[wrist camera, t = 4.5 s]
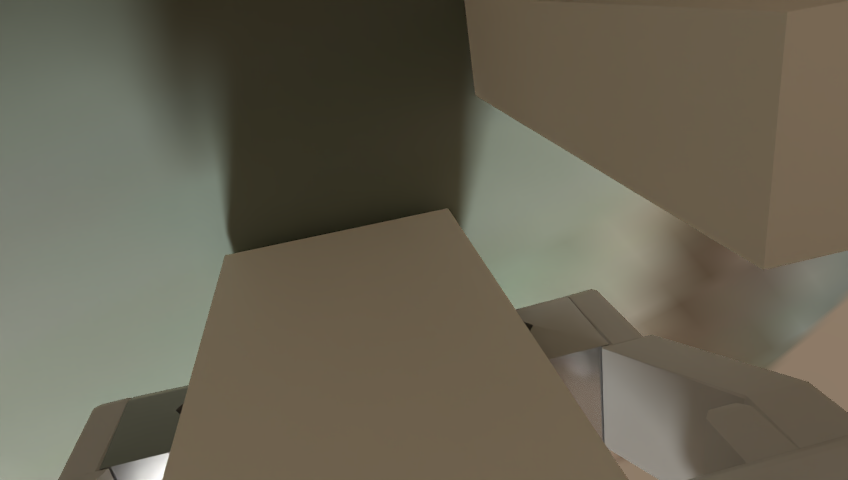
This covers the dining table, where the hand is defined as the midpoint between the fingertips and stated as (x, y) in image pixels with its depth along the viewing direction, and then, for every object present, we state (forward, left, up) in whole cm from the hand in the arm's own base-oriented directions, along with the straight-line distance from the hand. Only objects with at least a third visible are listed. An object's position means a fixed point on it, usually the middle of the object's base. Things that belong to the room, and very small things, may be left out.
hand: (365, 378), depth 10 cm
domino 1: (0, 0, -4) cm, 4 cm away
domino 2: (-4, +6, -5) cm, 9 cm away
